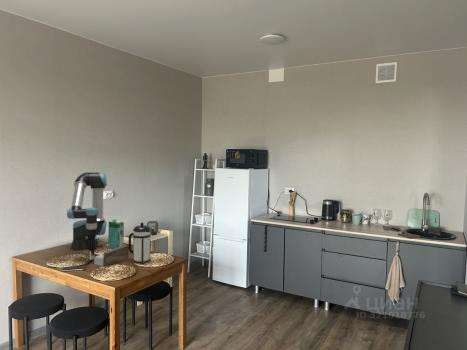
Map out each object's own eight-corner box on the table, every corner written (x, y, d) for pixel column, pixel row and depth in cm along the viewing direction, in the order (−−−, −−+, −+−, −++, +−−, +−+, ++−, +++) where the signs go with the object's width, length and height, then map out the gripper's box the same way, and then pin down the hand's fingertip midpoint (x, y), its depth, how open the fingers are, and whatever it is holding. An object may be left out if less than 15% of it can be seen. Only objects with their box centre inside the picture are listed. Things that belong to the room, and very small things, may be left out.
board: (103, 266, 254) (103, 252, 253) (124, 258, 274) (124, 245, 273) (107, 266, 252) (107, 253, 251) (128, 258, 272) (128, 246, 271)
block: (94, 264, 256) (94, 256, 256) (104, 261, 265) (104, 253, 265) (102, 266, 253) (102, 258, 253) (112, 262, 262) (112, 254, 262)
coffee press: (151, 257, 276) (151, 220, 274) (152, 264, 261) (152, 224, 259) (128, 258, 272) (128, 220, 270) (127, 265, 256) (128, 224, 255)
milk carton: (118, 251, 291) (118, 221, 289) (108, 250, 293) (108, 221, 291) (123, 248, 300) (123, 219, 298) (114, 247, 302) (114, 219, 300)
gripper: (81, 228, 263) (81, 259, 264) (94, 230, 258) (94, 261, 259) (88, 226, 270) (88, 256, 271) (101, 228, 264) (101, 259, 266)
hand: (91, 259), depth 265 cm, fingers closed
